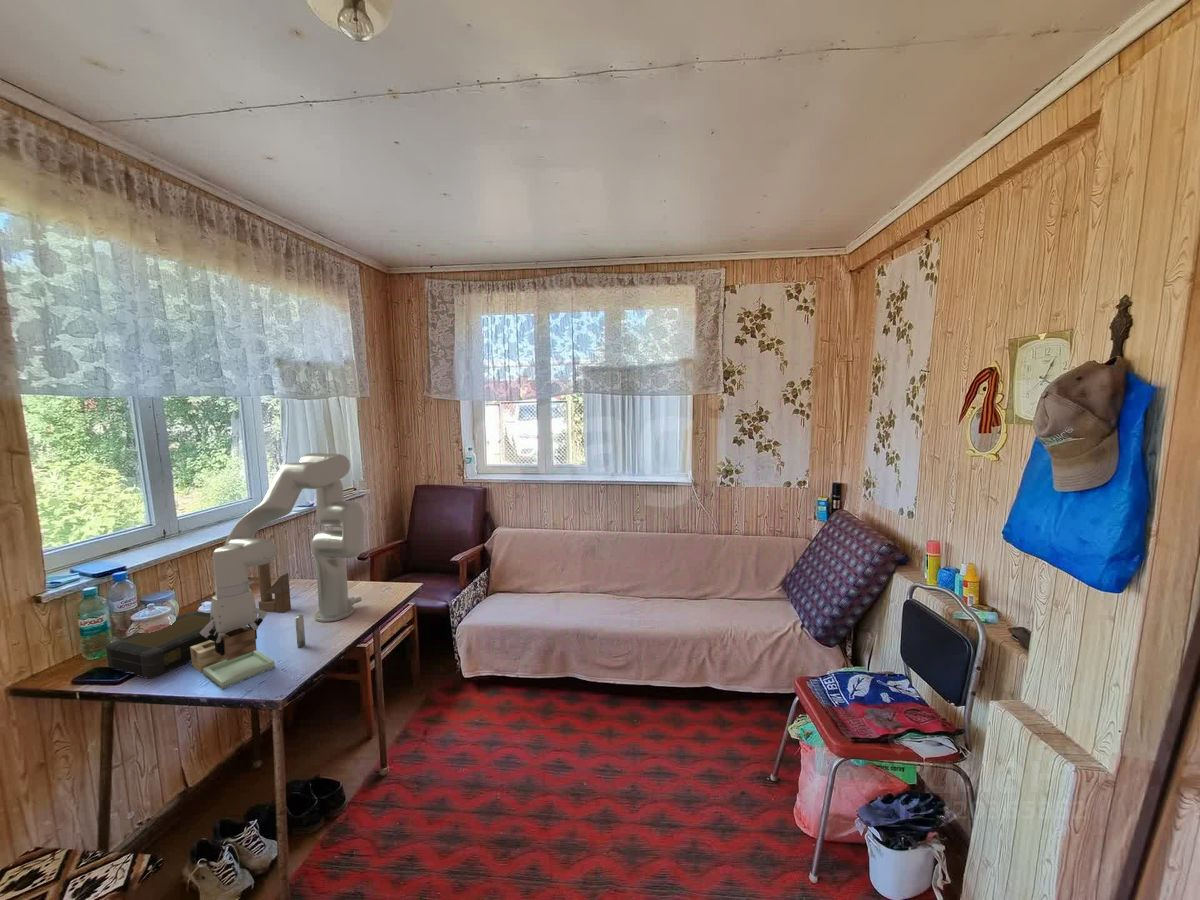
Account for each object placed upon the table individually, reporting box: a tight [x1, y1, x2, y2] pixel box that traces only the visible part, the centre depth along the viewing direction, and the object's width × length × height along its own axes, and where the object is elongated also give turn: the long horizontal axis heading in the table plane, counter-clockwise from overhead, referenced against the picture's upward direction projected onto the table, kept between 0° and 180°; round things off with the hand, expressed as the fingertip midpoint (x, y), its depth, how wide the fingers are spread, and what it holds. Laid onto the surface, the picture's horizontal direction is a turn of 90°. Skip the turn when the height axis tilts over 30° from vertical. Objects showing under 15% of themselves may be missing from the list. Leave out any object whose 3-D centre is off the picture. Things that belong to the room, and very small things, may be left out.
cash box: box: [105, 610, 216, 679], centre depth 151 cm, size 25×20×8 cm
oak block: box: [190, 640, 226, 674], centre depth 145 cm, size 7×7×6 cm
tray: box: [202, 650, 276, 690], centre depth 141 cm, size 13×13×2 cm
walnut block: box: [219, 625, 257, 661], centre depth 140 cm, size 7×7×6 cm
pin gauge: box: [294, 614, 306, 649], centre depth 155 cm, size 2×2×10 cm
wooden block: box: [257, 561, 292, 614], centre depth 181 cm, size 4×11×18 cm, turn 80°
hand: (236, 647), depth 140 cm, fingers closed on walnut block, 7 cm apart
